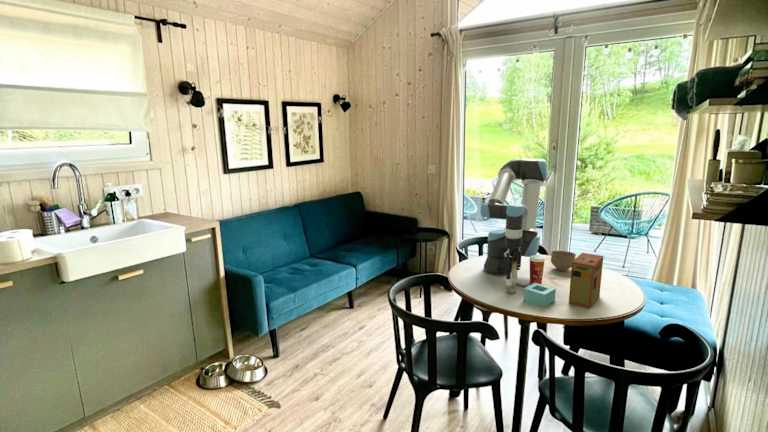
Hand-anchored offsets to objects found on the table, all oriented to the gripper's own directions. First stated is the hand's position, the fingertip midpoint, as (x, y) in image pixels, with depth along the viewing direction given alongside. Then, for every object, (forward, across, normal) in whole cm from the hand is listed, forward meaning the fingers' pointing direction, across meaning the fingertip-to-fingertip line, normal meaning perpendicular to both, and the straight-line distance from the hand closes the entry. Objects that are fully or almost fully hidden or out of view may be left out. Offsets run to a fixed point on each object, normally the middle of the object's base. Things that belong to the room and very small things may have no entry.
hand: (511, 283), depth 196 cm
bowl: (+5, +49, -2) cm, 49 cm away
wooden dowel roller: (+5, 0, 0) cm, 5 cm away
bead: (+5, +1, -14) cm, 15 cm away
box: (+5, +16, -28) cm, 33 cm away
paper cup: (+5, +20, -2) cm, 21 cm away
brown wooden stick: (+5, +11, +3) cm, 12 cm away
